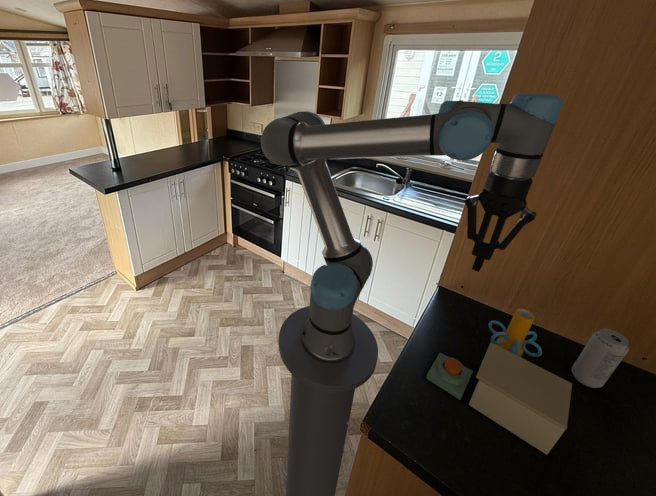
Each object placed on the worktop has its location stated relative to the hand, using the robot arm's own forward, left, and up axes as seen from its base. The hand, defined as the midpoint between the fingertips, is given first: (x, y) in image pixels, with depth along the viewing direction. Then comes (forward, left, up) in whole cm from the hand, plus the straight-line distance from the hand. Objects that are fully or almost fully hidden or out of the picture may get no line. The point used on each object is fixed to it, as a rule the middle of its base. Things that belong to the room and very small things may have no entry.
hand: (476, 268), depth 74 cm
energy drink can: (+28, +16, -29) cm, 43 cm away
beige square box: (+16, -6, -28) cm, 33 cm away
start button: (+3, -8, -25) cm, 27 cm away
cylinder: (+12, +10, -29) cm, 33 cm away
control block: (+3, -8, -28) cm, 30 cm away
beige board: (+16, -6, -19) cm, 26 cm away
